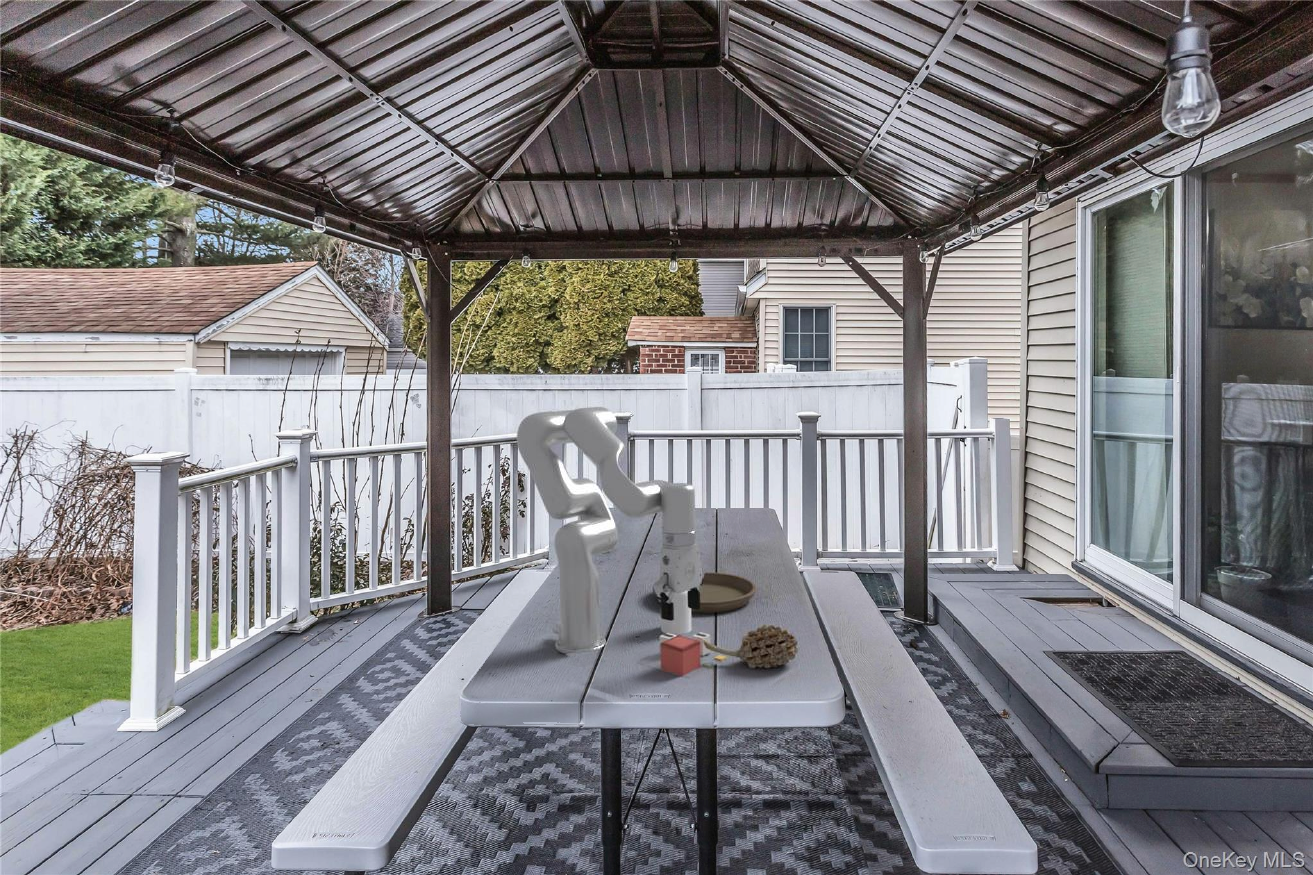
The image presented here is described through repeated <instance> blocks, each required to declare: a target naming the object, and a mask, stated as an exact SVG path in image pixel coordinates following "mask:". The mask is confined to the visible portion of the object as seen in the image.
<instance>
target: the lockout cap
mask: <svg viewBox="0 0 1313 875" xmlns="http://www.w3.org/2000/svg"><path fill="white" fill-rule="evenodd" d="M660 648H661V669H662V670H661V671H663V670H666V671H669V672H672V673H671V674H673V673H676V674H679V675H682V676H681V677H683V676H684V675H686V674H688V673H690V672H692V671H694V670H696V669H697V668H699V667H701V665H700V641H698V640H694V639H693V638H689V637H685V636H682V635H677V636H675V637H673V638H671V639H669V640H666V641H664V642H662V643H660V642H659V649H660ZM666 671H665V672H666ZM669 672H668V673H669ZM676 674H675V675H676ZM679 675H678V676H679Z"/></svg>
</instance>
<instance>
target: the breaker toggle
mask: <svg viewBox="0 0 1313 875" xmlns="http://www.w3.org/2000/svg"><path fill="white" fill-rule="evenodd" d="M692 639H694V640H698V641H700V655H702V656H703V655H706V654H708V653H710V650H709V649H707V648H706V647H705V645H704V642H702V641H704V640H705V641H706V642H709V643H711V634H708V633H704V632H697V633H695V634H693V635H692Z"/></svg>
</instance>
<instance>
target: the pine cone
mask: <svg viewBox="0 0 1313 875" xmlns="http://www.w3.org/2000/svg"><path fill="white" fill-rule="evenodd" d="M702 642H704V645H705V647H706V648H707V649H709V650H711V651H714V652H717V653H721V654H725V655H729V656H731V657H735V658H739V659H740V660H741V661H744V662H746V663H747V666H748V668H750V669H755V668H762V667H763V668H765V669H771V668H777V667H778V666H782V664H784V665H786V664H788V663H789V662H790V661H792V660H794V659H795V658H796V655H797V653H798V650H799V648H798V647H797V646H798V640H797V639H796V636H795V635H793V633H788V630H787V629H784V630H782V628H781V627H780V626H775V625H772V624H770V625H766V624H764V625H762V626H761V627H757V629H756V630H751V631H747V635H745V636H743V637H742V638H741V644H740V647H739V649H738V650H732V649H727V648H723V647H720V646H717V645H715V644H713V643H711V642H710V643H709V642H706V641H705V640H704V641H702ZM789 660H790V661H789Z"/></svg>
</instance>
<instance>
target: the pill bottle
mask: <svg viewBox="0 0 1313 875" xmlns="http://www.w3.org/2000/svg"><path fill="white" fill-rule="evenodd" d="M687 592H688V590H687V591H685V592H682V593H675V594H674V597H673V599H672V601H671V602H673V604H674V620H672V621H669V620H665V619H662V618H661V617H660V631H661V633H663V634H666V633H670V634H674V635H677V636H682V635H686V634H689V633H690V632H691V631H692V612H691V608H688V594H687ZM666 595H667V596H668V595H669V592H667V593H666Z"/></svg>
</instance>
